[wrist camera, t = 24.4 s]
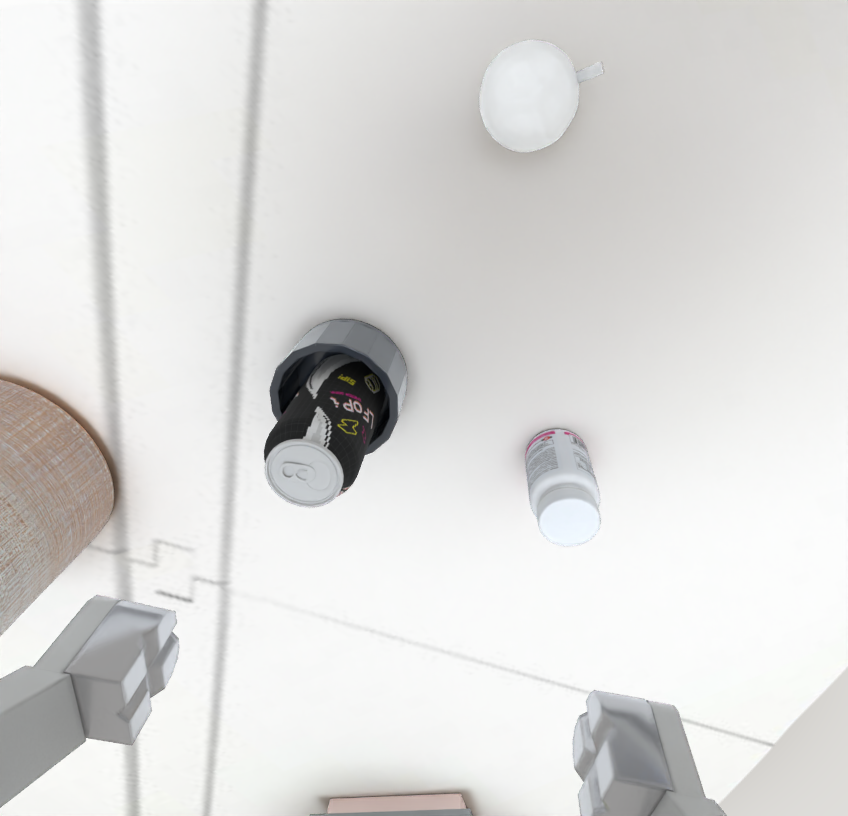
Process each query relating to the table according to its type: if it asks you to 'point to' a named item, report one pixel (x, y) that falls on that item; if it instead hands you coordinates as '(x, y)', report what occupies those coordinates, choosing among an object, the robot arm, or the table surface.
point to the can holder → (355, 343)
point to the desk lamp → (399, 806)
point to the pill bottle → (562, 487)
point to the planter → (44, 495)
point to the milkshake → (531, 95)
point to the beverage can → (324, 432)
